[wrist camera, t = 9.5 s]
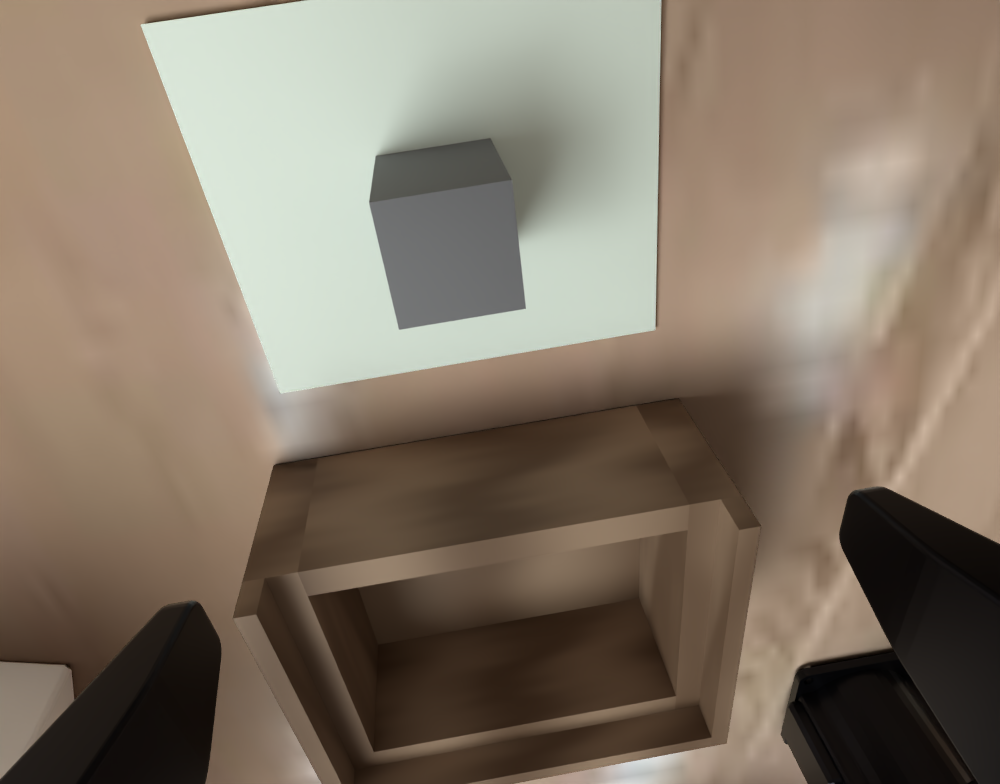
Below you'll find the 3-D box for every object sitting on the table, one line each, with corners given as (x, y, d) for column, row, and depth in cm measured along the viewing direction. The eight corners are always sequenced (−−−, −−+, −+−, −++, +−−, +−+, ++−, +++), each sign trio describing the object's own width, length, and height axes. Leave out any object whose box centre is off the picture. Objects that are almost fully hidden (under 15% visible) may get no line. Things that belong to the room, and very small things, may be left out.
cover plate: (651, -51, 16) (736, -58, 12) (647, 318, 21) (704, 399, 17) (152, 22, 15) (62, 40, 11) (284, 380, 21) (256, 477, 17)
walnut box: (678, 398, 22) (761, 525, 17) (667, 603, 28) (726, 743, 23) (273, 465, 22) (232, 618, 16) (351, 659, 28) (339, 816, 23)
